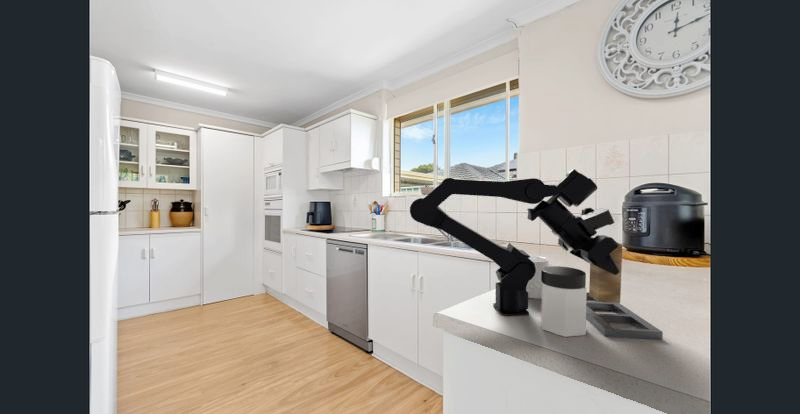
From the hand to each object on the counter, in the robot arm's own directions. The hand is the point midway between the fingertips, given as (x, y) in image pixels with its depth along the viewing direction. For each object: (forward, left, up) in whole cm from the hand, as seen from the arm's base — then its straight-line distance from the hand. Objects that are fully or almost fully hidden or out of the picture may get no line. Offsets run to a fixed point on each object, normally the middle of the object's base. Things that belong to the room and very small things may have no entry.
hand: (611, 270), depth 71 cm
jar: (-14, -6, -10) cm, 19 cm away
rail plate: (-1, 0, -10) cm, 10 cm away
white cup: (-11, +15, -10) cm, 21 cm away
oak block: (-1, 0, -7) cm, 7 cm away
